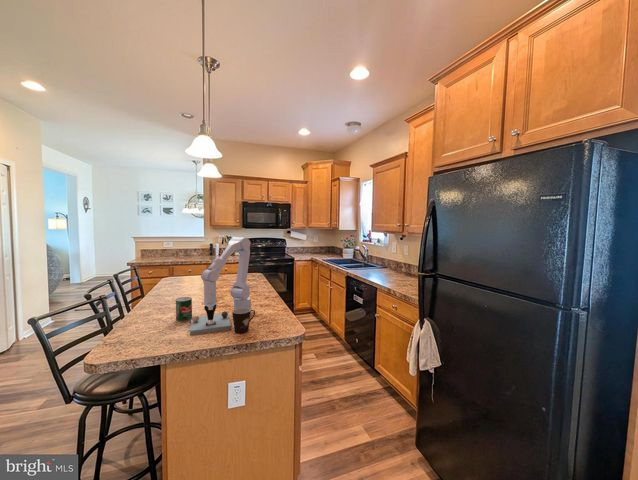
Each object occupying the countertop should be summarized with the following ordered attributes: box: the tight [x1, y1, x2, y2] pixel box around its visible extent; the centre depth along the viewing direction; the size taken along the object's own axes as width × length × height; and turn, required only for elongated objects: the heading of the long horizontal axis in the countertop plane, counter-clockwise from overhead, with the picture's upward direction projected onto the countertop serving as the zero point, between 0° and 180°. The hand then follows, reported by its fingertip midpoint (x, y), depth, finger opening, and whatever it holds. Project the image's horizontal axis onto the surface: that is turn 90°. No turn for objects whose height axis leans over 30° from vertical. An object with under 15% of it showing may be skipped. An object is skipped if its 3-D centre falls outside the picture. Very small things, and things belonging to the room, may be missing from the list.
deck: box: [189, 313, 232, 336], centre depth 136 cm, size 18×20×2 cm
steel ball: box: [207, 320, 214, 326], centre depth 132 cm, size 3×3×3 cm
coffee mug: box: [231, 308, 256, 335], centre depth 129 cm, size 12×9×10 cm
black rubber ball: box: [221, 311, 229, 318], centre depth 142 cm, size 3×3×3 cm
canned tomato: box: [175, 296, 193, 322], centre depth 145 cm, size 8×8×11 cm
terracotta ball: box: [191, 314, 199, 322], centre depth 135 cm, size 3×3×3 cm
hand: (210, 319), depth 135 cm, fingers closed
